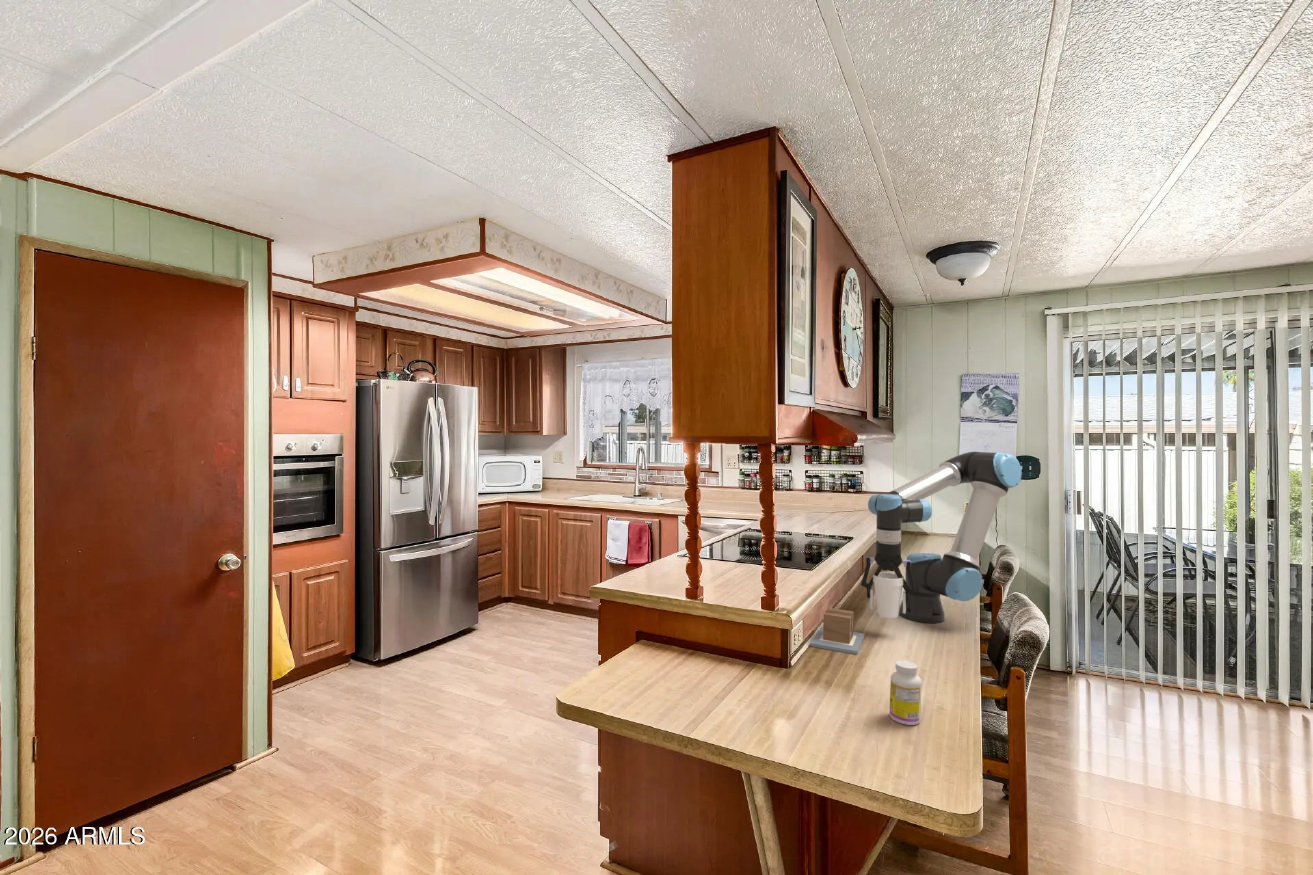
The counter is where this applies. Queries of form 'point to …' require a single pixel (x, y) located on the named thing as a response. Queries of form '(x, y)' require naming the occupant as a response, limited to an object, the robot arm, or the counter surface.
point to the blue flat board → (838, 643)
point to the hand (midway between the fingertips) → (887, 610)
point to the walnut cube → (838, 625)
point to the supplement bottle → (905, 694)
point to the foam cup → (888, 594)
